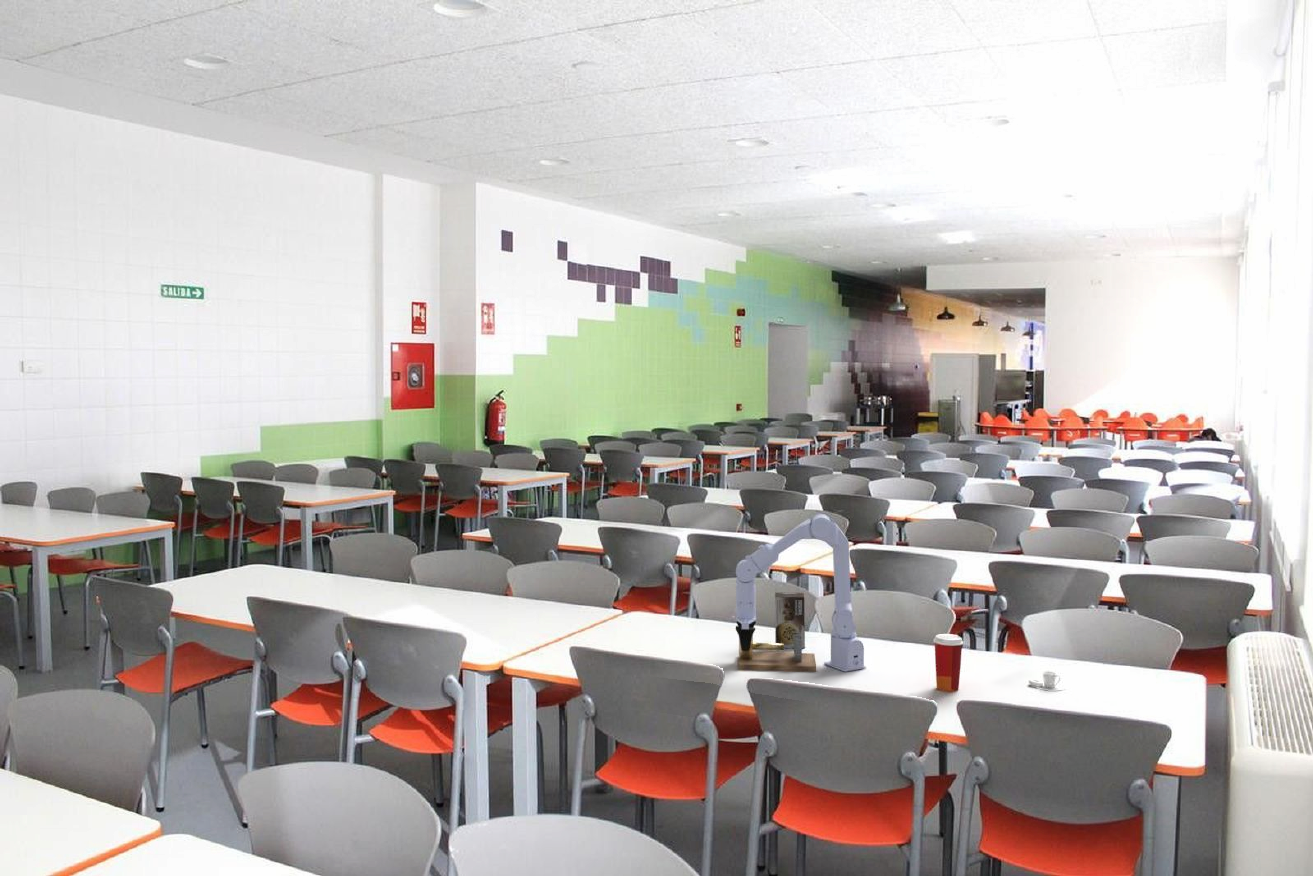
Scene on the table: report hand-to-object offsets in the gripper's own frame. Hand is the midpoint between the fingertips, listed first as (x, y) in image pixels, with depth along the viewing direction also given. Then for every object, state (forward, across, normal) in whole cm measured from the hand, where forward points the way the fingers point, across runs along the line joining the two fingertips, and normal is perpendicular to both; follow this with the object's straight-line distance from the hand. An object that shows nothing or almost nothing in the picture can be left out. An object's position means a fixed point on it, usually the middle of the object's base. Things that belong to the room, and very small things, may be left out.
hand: (745, 648), depth 301 cm
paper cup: (+5, +20, +54) cm, 58 cm away
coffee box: (+5, -21, +13) cm, 25 cm away
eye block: (+4, 0, +9) cm, 10 cm away
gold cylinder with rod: (+3, 0, +5) cm, 5 cm away
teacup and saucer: (+5, +12, +80) cm, 82 cm away
